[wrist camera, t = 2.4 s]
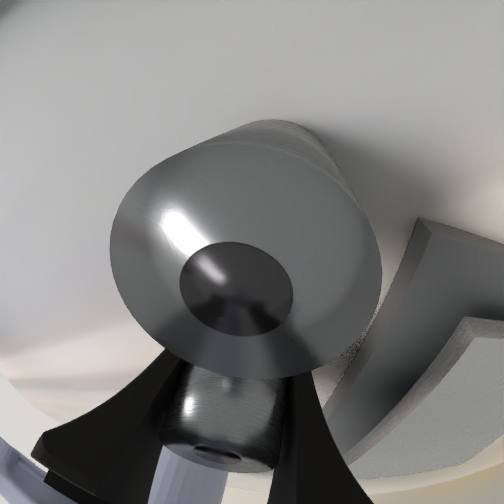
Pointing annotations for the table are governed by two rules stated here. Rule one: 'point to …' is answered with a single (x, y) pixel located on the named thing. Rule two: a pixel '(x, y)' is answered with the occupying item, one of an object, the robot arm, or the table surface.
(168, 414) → the spacer
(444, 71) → the table surface
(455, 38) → the table surface
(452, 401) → the pan
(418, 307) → the scale
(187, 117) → the table surface
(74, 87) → the table surface
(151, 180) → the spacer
